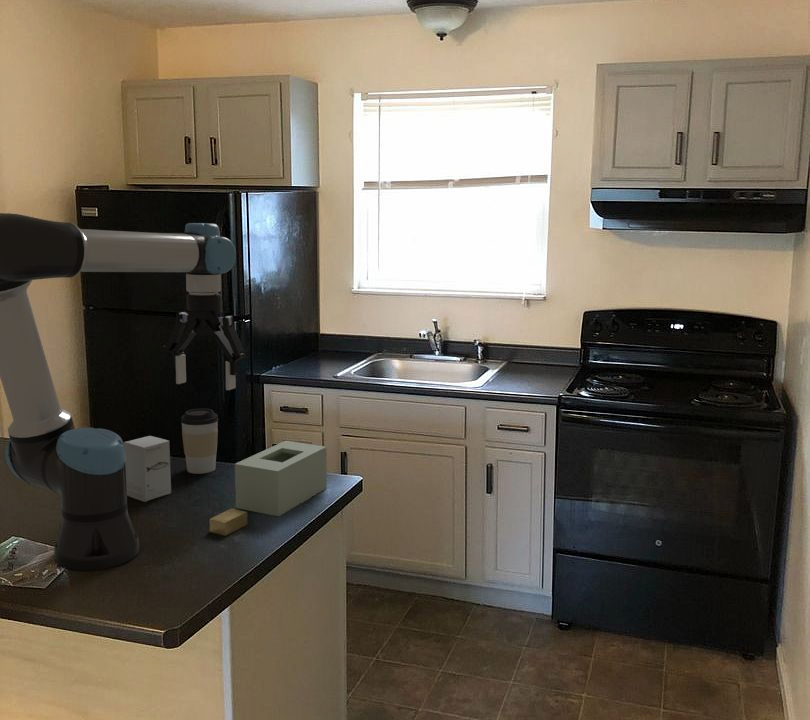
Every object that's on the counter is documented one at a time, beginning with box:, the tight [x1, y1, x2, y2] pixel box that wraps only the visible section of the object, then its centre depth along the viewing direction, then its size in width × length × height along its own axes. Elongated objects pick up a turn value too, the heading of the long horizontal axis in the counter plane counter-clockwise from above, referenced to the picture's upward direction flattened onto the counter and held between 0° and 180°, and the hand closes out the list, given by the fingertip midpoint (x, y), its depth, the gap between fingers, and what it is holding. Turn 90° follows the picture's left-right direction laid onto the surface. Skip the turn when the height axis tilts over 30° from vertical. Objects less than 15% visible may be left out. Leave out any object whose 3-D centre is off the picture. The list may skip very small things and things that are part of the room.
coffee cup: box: [180, 408, 219, 475], centre depth 216 cm, size 9×9×15 cm
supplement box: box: [123, 435, 172, 503], centre depth 198 cm, size 7×7×13 cm
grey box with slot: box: [234, 440, 328, 517], centre depth 197 cm, size 20×11×10 cm, turn 155°
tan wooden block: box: [209, 507, 248, 537], centre depth 180 cm, size 7×4×3 cm, turn 152°
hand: (205, 386), depth 201 cm, fingers open, 13 cm apart
